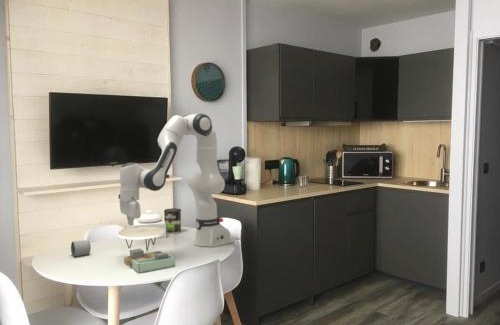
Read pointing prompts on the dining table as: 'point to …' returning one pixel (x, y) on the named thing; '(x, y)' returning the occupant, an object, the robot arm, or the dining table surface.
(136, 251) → the tile
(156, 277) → the dining table surface
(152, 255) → the board
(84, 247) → the ceramic mug
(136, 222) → the butter dish
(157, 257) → the tile
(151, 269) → the tray
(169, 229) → the coffee can
